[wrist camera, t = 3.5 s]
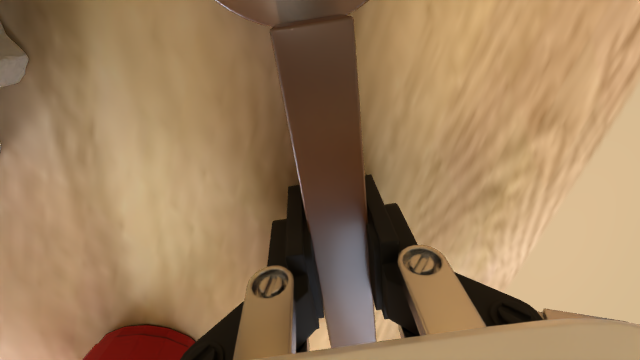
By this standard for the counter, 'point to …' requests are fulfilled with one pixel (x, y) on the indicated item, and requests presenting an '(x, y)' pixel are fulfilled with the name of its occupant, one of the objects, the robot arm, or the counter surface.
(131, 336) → the plastic cup
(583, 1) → the counter surface
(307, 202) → the spoon
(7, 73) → the crystal geode chunk
